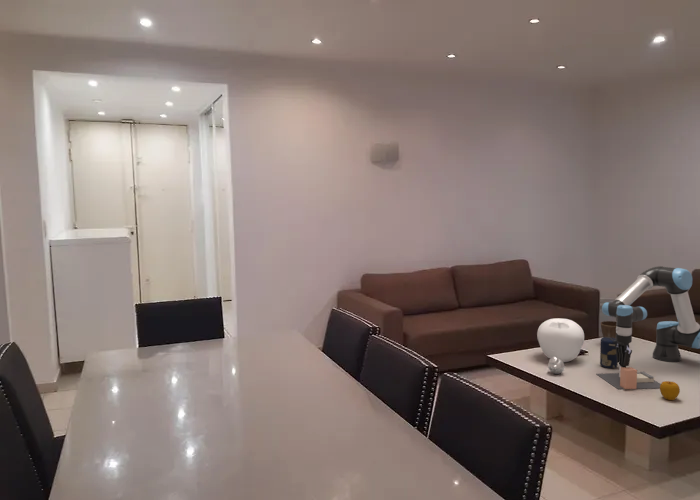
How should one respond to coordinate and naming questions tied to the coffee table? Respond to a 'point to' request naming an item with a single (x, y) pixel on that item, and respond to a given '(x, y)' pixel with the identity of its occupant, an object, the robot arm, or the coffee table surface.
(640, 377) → the ticket booklet
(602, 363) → the canister
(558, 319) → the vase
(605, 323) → the plant pot
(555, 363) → the silver round lump
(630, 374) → the pink upright block
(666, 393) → the apple
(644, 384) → the slate mat
